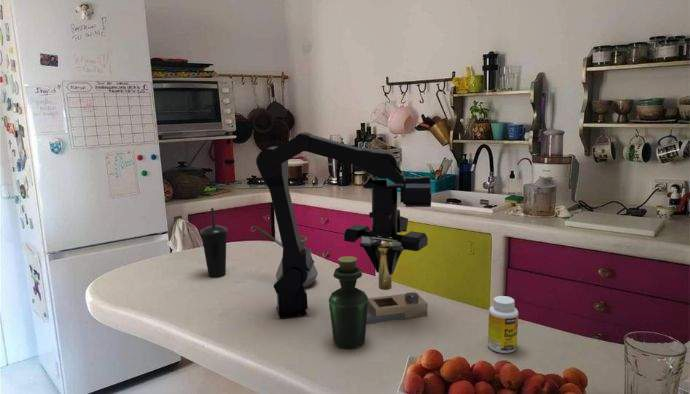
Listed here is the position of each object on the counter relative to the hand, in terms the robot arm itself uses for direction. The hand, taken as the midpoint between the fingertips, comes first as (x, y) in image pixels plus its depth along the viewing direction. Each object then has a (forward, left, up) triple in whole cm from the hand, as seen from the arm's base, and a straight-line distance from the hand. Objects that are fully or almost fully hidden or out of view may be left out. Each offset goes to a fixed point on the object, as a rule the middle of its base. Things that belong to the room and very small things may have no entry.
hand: (384, 273), depth 116 cm
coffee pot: (-20, +30, -10) cm, 37 cm away
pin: (0, 0, -4) cm, 4 cm away
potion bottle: (-12, -11, -10) cm, 19 cm away
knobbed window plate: (0, 0, -10) cm, 10 cm away
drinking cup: (-38, +41, -10) cm, 57 cm away
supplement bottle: (+17, -22, -10) cm, 30 cm away
